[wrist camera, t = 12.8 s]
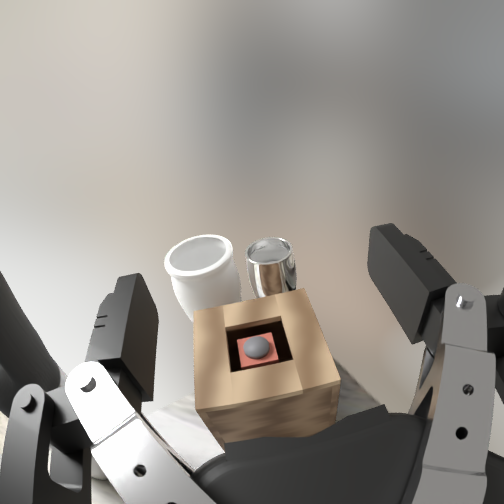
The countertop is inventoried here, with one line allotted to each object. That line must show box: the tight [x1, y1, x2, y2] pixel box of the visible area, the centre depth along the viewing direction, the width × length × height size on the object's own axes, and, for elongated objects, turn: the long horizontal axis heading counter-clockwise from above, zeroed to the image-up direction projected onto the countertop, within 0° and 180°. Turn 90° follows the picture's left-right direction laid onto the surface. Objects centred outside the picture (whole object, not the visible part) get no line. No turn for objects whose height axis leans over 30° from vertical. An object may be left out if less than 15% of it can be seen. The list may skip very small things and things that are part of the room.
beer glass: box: [245, 237, 296, 299], centre depth 48 cm, size 7×7×15 cm
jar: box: [164, 235, 241, 323], centre depth 50 cm, size 11×10×15 cm
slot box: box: [193, 288, 341, 451], centre depth 37 cm, size 14×14×13 cm
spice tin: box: [237, 333, 279, 370], centre depth 37 cm, size 4×4×12 cm
